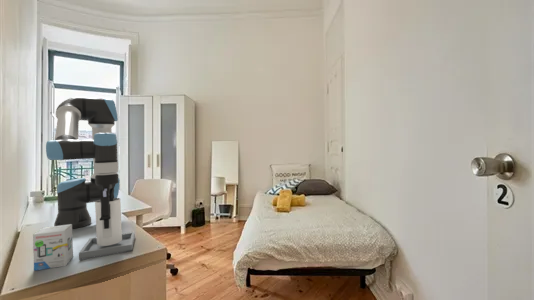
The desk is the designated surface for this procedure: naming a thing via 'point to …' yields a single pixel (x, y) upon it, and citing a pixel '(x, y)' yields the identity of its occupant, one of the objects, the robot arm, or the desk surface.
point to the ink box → (52, 247)
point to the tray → (107, 247)
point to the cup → (115, 223)
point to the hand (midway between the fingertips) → (109, 233)
